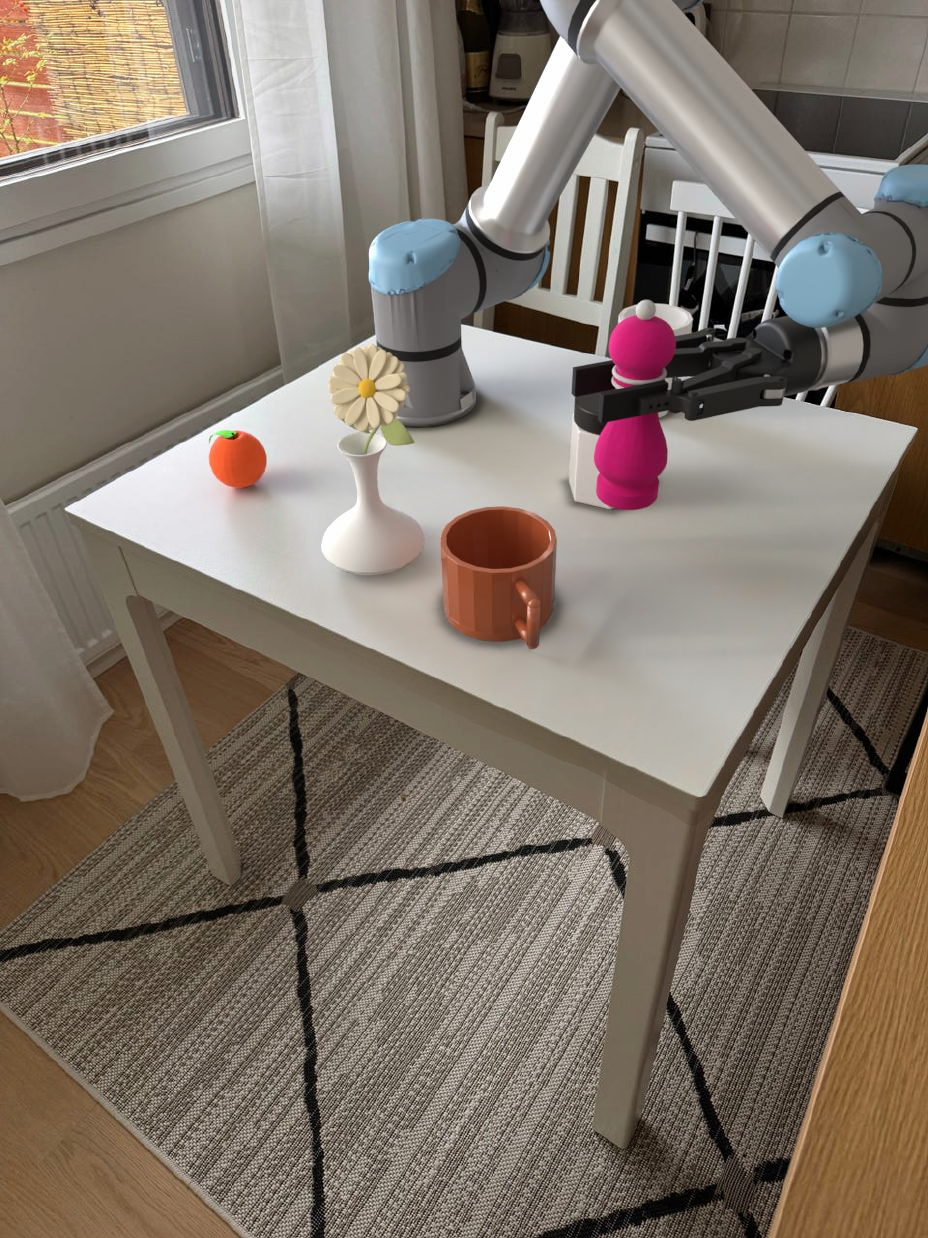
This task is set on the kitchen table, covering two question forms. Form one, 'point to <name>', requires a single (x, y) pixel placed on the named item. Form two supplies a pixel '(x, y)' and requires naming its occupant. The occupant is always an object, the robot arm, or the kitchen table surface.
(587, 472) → the jar
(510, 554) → the terracotta coffee mug
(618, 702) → the kitchen table surface
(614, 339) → the pepper mill
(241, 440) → the clementine
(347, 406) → the flower in vase
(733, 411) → the robot arm
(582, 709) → the kitchen table surface
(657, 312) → the foam cup
